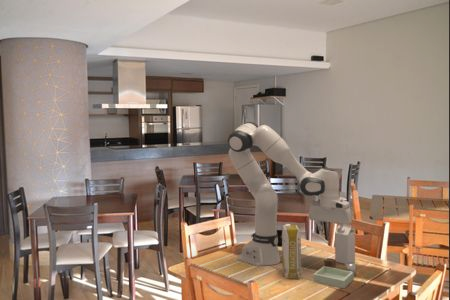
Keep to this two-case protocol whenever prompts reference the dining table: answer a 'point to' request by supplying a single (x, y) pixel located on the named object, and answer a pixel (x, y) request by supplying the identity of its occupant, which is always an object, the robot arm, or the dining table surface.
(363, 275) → the dining table surface
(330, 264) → the walnut block
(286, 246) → the juice carton
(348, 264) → the aluminium bushing
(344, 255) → the milk carton
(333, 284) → the tray
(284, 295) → the dining table surface
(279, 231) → the coffee mug
